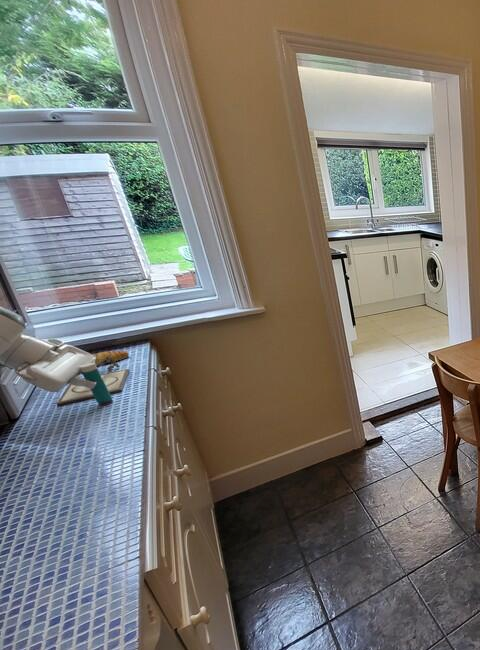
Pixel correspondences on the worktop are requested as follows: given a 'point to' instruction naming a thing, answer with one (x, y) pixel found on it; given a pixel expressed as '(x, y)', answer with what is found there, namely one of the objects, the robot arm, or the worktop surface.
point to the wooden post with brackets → (108, 362)
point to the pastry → (115, 354)
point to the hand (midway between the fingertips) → (98, 382)
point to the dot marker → (100, 389)
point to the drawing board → (80, 393)
